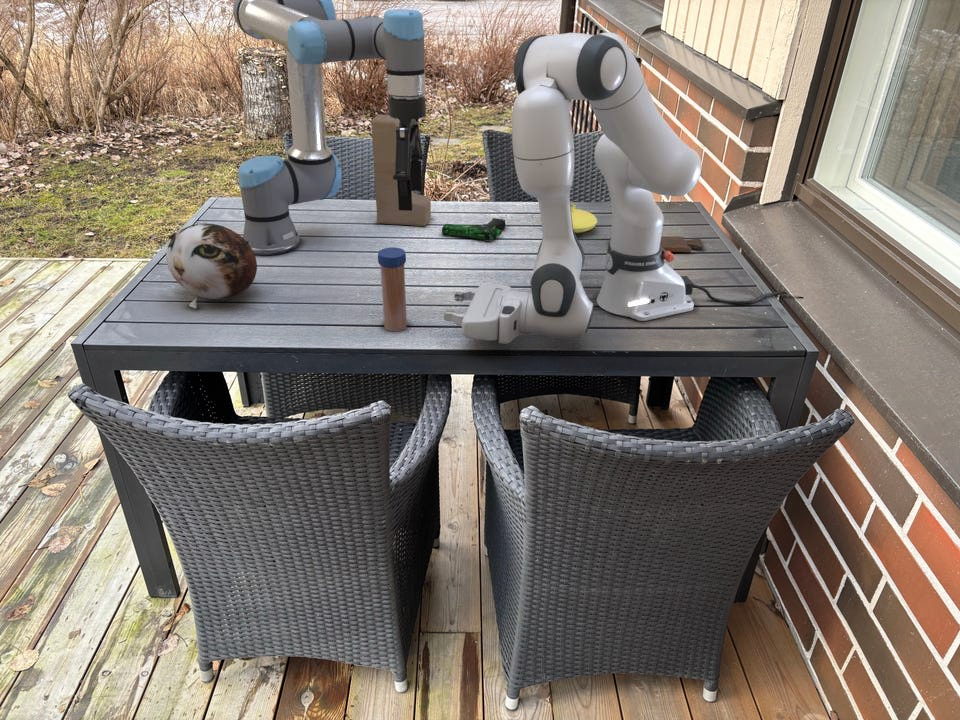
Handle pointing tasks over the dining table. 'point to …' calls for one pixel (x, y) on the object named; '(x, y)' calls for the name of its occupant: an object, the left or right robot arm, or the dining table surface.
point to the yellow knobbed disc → (582, 220)
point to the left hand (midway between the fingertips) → (410, 200)
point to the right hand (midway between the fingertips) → (450, 305)
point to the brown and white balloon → (211, 261)
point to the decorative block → (384, 179)
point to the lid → (391, 257)
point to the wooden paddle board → (679, 244)
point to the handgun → (476, 230)
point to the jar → (394, 298)
